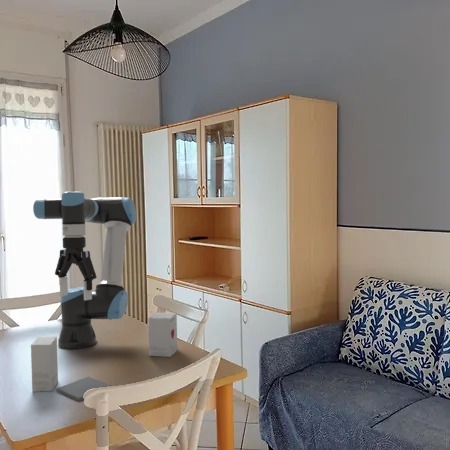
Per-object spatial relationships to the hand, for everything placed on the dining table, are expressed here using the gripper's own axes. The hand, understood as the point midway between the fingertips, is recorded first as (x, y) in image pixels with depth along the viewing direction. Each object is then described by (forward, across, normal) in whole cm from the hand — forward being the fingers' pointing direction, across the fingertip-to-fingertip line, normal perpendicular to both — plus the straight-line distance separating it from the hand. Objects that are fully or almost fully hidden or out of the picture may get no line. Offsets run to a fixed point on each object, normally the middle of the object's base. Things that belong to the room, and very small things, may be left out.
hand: (75, 297), depth 167 cm
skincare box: (+27, +2, -13) cm, 30 cm away
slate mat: (+27, +14, -8) cm, 31 cm away
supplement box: (+26, +10, +32) cm, 43 cm away
